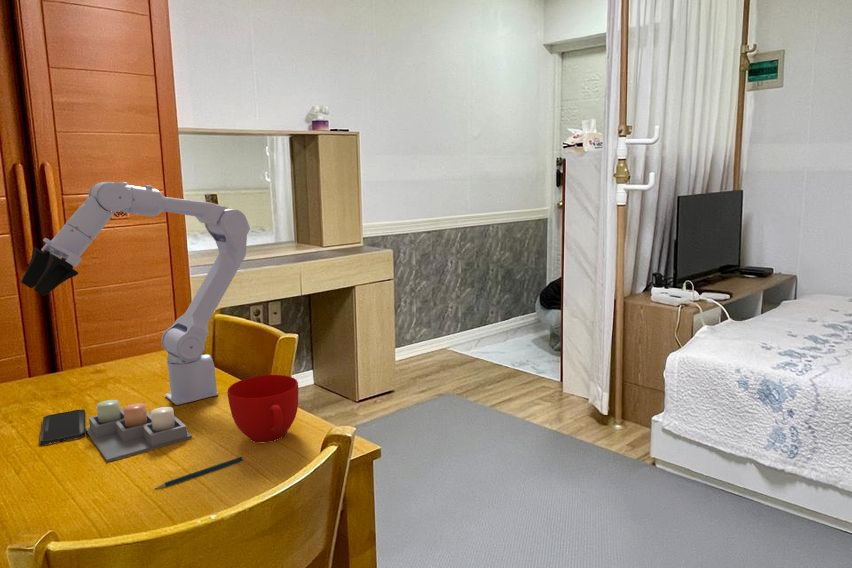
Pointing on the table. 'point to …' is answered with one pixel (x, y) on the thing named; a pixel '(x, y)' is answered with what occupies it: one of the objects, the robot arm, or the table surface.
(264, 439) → the ceramic cup
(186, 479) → the pencil
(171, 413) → the ivory key
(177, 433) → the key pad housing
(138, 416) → the terracotta key
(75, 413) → the phone
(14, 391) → the table surface
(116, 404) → the pale green rounded block
